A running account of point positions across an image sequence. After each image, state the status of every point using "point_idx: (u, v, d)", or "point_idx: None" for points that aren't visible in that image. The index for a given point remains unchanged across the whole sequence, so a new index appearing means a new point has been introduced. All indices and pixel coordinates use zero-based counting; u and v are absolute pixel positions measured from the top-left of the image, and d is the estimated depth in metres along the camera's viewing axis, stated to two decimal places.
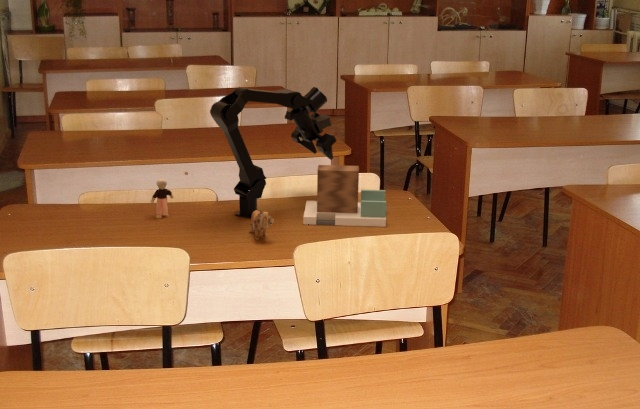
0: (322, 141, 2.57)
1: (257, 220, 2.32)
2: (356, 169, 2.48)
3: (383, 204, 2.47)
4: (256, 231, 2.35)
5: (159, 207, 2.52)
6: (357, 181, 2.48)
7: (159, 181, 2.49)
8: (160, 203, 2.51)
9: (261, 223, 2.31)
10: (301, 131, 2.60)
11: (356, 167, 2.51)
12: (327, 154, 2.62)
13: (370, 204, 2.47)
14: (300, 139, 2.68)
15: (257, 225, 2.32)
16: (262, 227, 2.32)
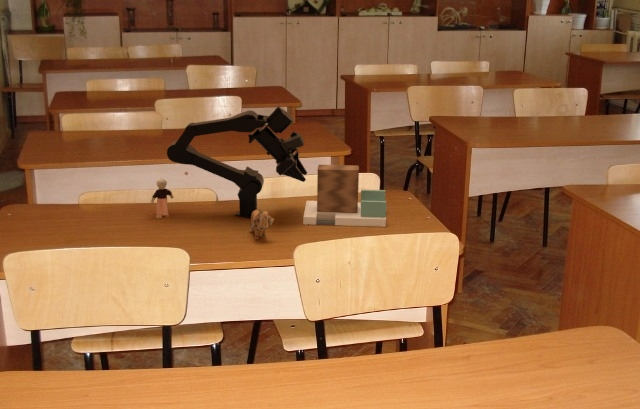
0: (277, 165, 2.42)
1: (257, 220, 2.32)
2: (356, 168, 2.49)
3: (383, 204, 2.47)
4: (256, 231, 2.35)
5: (159, 207, 2.52)
6: (357, 180, 2.48)
7: (159, 181, 2.49)
8: (160, 203, 2.51)
9: (261, 223, 2.32)
10: None
11: (356, 167, 2.51)
12: (294, 176, 2.46)
13: (370, 204, 2.47)
14: None
15: (257, 225, 2.33)
16: (262, 227, 2.32)
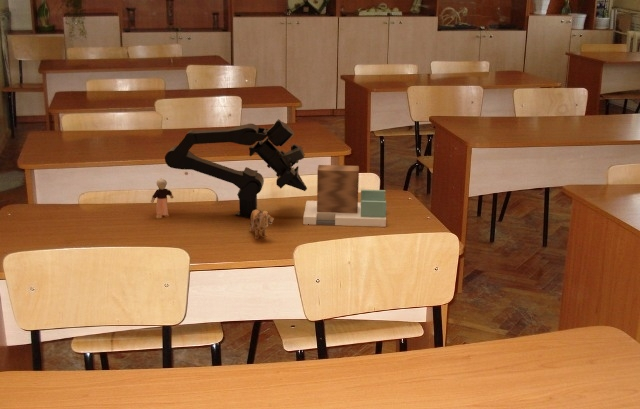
0: (278, 178, 2.43)
1: (257, 219, 2.33)
2: (356, 169, 2.48)
3: (383, 204, 2.47)
4: (256, 230, 2.35)
5: (159, 207, 2.52)
6: (357, 181, 2.48)
7: (159, 181, 2.49)
8: (160, 203, 2.51)
9: (261, 222, 2.32)
10: None
11: (356, 167, 2.51)
12: (295, 186, 2.51)
13: (370, 204, 2.47)
14: None
15: (257, 224, 2.33)
16: (262, 226, 2.33)
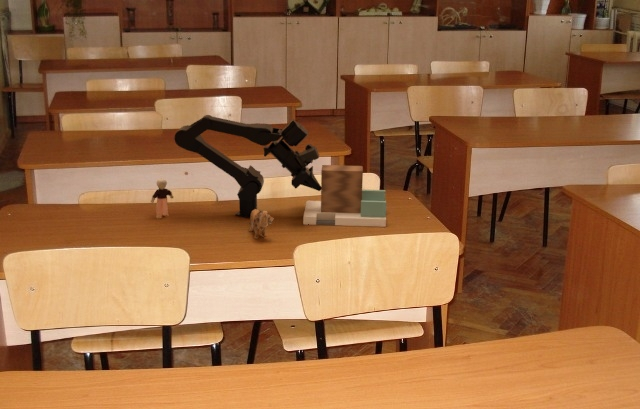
0: (293, 178, 2.43)
1: (256, 219, 2.33)
2: (360, 169, 2.48)
3: (383, 204, 2.47)
4: (255, 230, 2.36)
5: (159, 207, 2.52)
6: (361, 181, 2.48)
7: (159, 181, 2.49)
8: (160, 203, 2.51)
9: (261, 222, 2.32)
10: None
11: (360, 167, 2.51)
12: (310, 186, 2.51)
13: (370, 204, 2.47)
14: None
15: (256, 224, 2.33)
16: (261, 226, 2.33)
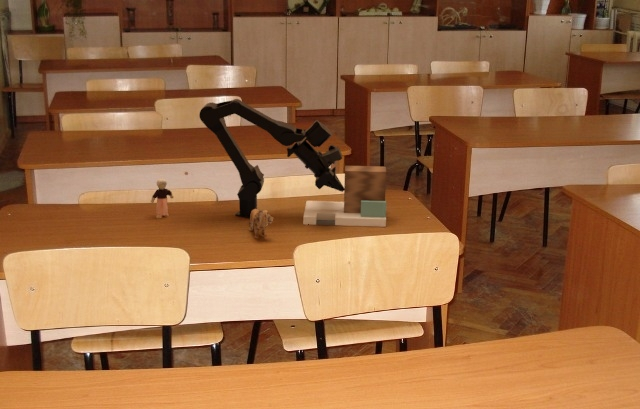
0: (316, 179, 2.43)
1: (257, 219, 2.33)
2: (383, 170, 2.48)
3: (383, 204, 2.47)
4: (255, 230, 2.36)
5: (159, 207, 2.52)
6: (384, 182, 2.47)
7: (159, 181, 2.49)
8: (160, 203, 2.51)
9: (261, 221, 2.33)
10: None
11: (383, 168, 2.50)
12: (333, 186, 2.50)
13: (370, 204, 2.47)
14: None
15: (257, 224, 2.34)
16: (262, 225, 2.33)
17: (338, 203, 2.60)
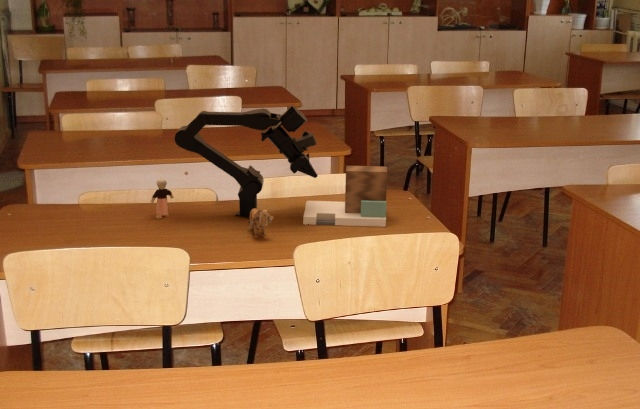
0: (291, 163, 2.42)
1: (256, 218, 2.34)
2: (384, 170, 2.48)
3: (383, 204, 2.47)
4: (255, 229, 2.36)
5: (159, 207, 2.52)
6: (385, 182, 2.47)
7: (159, 181, 2.49)
8: (160, 203, 2.51)
9: (260, 221, 2.33)
10: None
11: (384, 168, 2.50)
12: (306, 172, 2.50)
13: (370, 204, 2.47)
14: None
15: (256, 223, 2.34)
16: (261, 225, 2.34)
17: (338, 203, 2.60)
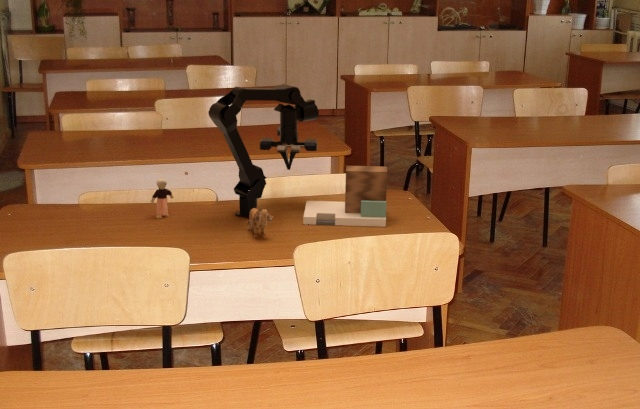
0: (313, 141, 2.57)
1: (256, 218, 2.34)
2: (384, 170, 2.48)
3: (383, 204, 2.47)
4: (255, 229, 2.37)
5: (159, 207, 2.52)
6: (385, 182, 2.47)
7: (159, 181, 2.49)
8: (160, 203, 2.51)
9: (260, 220, 2.33)
10: (289, 130, 2.54)
11: (384, 168, 2.50)
12: (292, 160, 2.59)
13: (370, 204, 2.47)
14: (284, 148, 2.57)
15: (256, 223, 2.35)
16: (261, 224, 2.34)
17: (338, 203, 2.60)
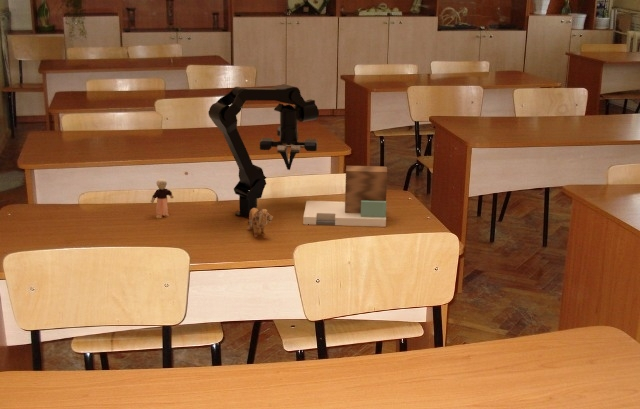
0: (313, 141, 2.57)
1: (256, 217, 2.34)
2: (384, 170, 2.48)
3: (383, 204, 2.47)
4: (255, 228, 2.37)
5: (159, 207, 2.52)
6: (385, 182, 2.47)
7: (159, 181, 2.49)
8: (160, 203, 2.51)
9: (260, 220, 2.34)
10: (289, 130, 2.54)
11: (384, 168, 2.50)
12: (292, 160, 2.59)
13: (370, 204, 2.47)
14: (284, 148, 2.57)
15: (256, 222, 2.35)
16: (261, 224, 2.34)
17: (338, 203, 2.60)
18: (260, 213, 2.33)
